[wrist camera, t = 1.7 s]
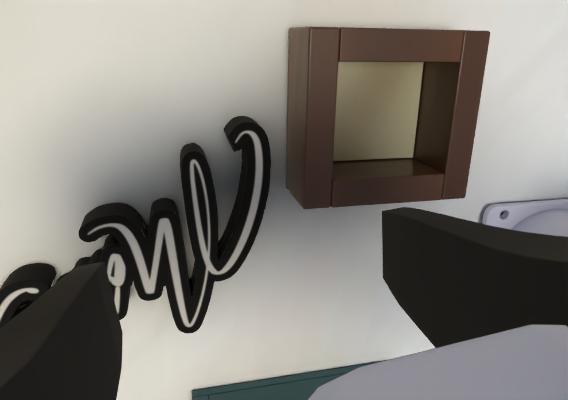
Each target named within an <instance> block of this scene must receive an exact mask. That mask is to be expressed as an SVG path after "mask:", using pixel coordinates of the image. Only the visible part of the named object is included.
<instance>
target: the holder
mask: <svg viewBox="0 0 568 400" xmlns="http://www.w3.org/2000/svg"><path fill="white" fill-rule="evenodd" d="M376 363H378V362H376ZM370 364H374V363H369V364H363V365H356V366H350V367H343V368H337V369H330V370H324V371H317V372H311V373H304V374H298V375H291V376H285V377H278V378H272V379H265V380H259V381H252V382H246V383H240V384H233V385H227V386H220V387H214V388H207V389H201V390H194V391H192V400H308V399H309V398H310V397H311V395H312V394H313V393H314V392H315V391H316V390H317V388H318V387H320V386H322V385H324V384H326V383H328V382H330V381H332V380H334V379H336V378H338V377H340V376H343V375H345V374H347V373H349V372H351V371H353V370H355V369H357V368H359V367H362V366H366V365H370Z"/></svg>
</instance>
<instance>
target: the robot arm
mask: <svg viewBox="0 0 568 400" xmlns="http://www.w3.org/2000/svg"><path fill="white" fill-rule="evenodd" d="M502 211H504V212H503V214H502V215H501V216H500V214H501V212H502ZM382 242H383V278H384V280H385V282H386V284H387V285H388V287H389V289H390V290H391V292H392V294H393V295H394V297H395V298H396V300H397V302H398V303H399V305H400V306H401V307H402V308H403V310H404V311H405V312H406V313H407V315H408V316H409V317H410V318H411V319H412V320H413V322H414V323H415V324H416V325H417V326H418V328H419V329H420V330H421V331H422V332H423V333H424V335H425V336H426V337H427V338H428V339H429V340H430V342H431V343H432V344H433V345H434V346H435V347H436V348H435V349H431V350H427V351H422V352H418V353H414V354H410V355H406V356H402V357H398V358H394V359H390V360H386V361H382V362H378V363H374V364H370V365H366V366H362V367H359V368H357V369H355V370H353V371H351V372H349V373H347V374H345V375H343V376H340V377H338V378H336V379H334V380H332V381H330V382H328V383H326V384H324V385H322V386H320V387H318V388H317V390H316V391H315V392H314V393H313V394H312V395H311V397H310V398H309V399H308V400H568V199H558V200H545V201H531V202H518V203H504V204H493V205H490V206H488V207H487V208H486V210H485V211H484V215H483V220H482V224H481V223H476V222H472V221H468V220H463V219H459V218H455V217H451V216H447V215H443V214H438V213H434V212H430V211H425V210H420V209H415V208H405V207H402V208H397V209H391V210H386V211H382ZM121 365H122V329H121V325H120V321H119V317H118V313H117V309H116V305H115V301H114V297H113V293H112V289H111V286H110V282H109V278H108V274H107V270H106V266H105V262H99V263H94V264H88V265H83V266H78V267H76V268H75V269H73V270H72V271H70V272H69V273H68V274H67V275H65V276H64V277H63V278H62V279H61V280H59V281H58V282H57V283H56V284H55V285H53V286H52V287H51V288H50V289H49V290H48V291H46V292H45V293H44V294H43V295H42V296H40V297H39V298H38V299H37V300H36V301H35V302H33V303H32V304H31V305H30V306H28V307H27V308H26V309H25V310H23V311H22V312H21V313H19V314H18V315H17V316H15V317H14V318H13V319H12V320H10V321H9V322H8V323H6V324H5V325H4V326H3V327H1V328H0V400H116V397H117V391H118V385H119V379H120V373H121Z"/></svg>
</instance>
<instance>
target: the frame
mask: <svg viewBox="0 0 568 400" xmlns="http://www.w3.org/2000/svg"><path fill="white" fill-rule="evenodd" d="M489 38H490V32H489V31H470V30H429V29H387V28H345V27H340V28H338V27H296V28H290V29H289V61H288V112H287V163H286V188H287V189H288V190H289V192H290V193H291V194H292V195H293V196H294V198H295V199H296V200H297V201H298V203H299V204H300V205H301V206H302V208H303V209H314V208H328V207H330V206H331V207H346V206H360V205H374V204H388V203H403V202H417V201H431V200H441V199H457V198H465V195H466V188H467V182H468V175H469V169H470V162H471V155H472V149H473V142H474V136H475V129H476V123H477V116H478V110H479V103H480V97H481V90H482V83H483V77H484V70H485V64H486V57H487V51H488V44H489Z"/></svg>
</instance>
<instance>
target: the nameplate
mask: <svg viewBox="0 0 568 400" xmlns="http://www.w3.org/2000/svg"><path fill="white" fill-rule="evenodd" d="M224 131H225V133H226V136H227V138H228V140H229V143H230V145H231V146H232V148H233V150H234V152H235V151H238V150H240V149H242V166H241V174H240V181H239V187H238V193H237V197H236V201H235V204H234V207H233V210H232V213H231V216H230V219H229V221H228V224H227V227H226V229H225V232H224V234H223V236H222V238H221V240H220V241H219V243H218V215H217V204H216V197H215V191H214V186H213V181H212V176H211V171H210V168H209V165H208V162H207V159H206V157H205V154H204V152H203V150H202V149H201V147H200V146H198V145H197V144H195V143H190V144H186V145H185V146H183V148H182V150H181V154H180V169H181V181H182V189H183V196H184V203H185V210H186V217H187V224H188V230H189V235H190V240H191V245H192V249H193V253H194V257H195V263H194V268H193V273H192V278H191V279H189V275H188V269H187V263H186V256H185V249H184V243H183V236H182V230H181V223H180V218H179V213H178V209H177V206H176V204H175V202H174V201H173V200H171V199H167V198H163V199H158V200H156V201H154V202H153V204H152V207H151V212H150V219H149V224H148V225H146V223H145V222H144V220H143V218H142V217H141V215H140V214H139V213H138V212H137V211H136V210H135V209H134V208H133V207H131V206H129V205H127V204H124V203H110V204H105V205H102V206H98V207H96V208H95V209H93V210H92V211H90V212H89V213H88V214H87V215H86V216H85V218H84V220H83V223H82V225H81V227H80V230H79V237H80V239H81V240H83V241H85V242H92V241H96V240H97V239H98V238H100V237H101V236H104V235H107V234H110V235H109V236H108V237H107V238H106V240H105V244H104V246H103V249H102V250H98V251H96V252H95V253H94V254H93V255H92V257H90V258H87V257H86V258H82V259H80V260H78V261H77V263H76V265H75V267H74V269H75V268H76V267H78V266H83V265H88V264H94V263H99V262H105V266H106V270H107V274H108V278H109V282H110V286H111V289H112V293H113V297H114V301H115V305H116V309H117V313H118V317H119V320H121V319H123V318H124V317H125V316H126V314H127V310H128V302H129V294H130V286H131V285H132V282H133V281H134V285H135V288H136V290H137V293H138V295H139V297H140V298H141V299H143V300H146V301H150V300H155V299H158V298H159V297H160V296H161V295H162V291H163V287H164V286H166V288H167V294H168V298H169V303H170V307H171V311H172V315H173V318H174V321H175V324H176V326H177V328H178V329H179V330H180V331H182V332H184V333H193V332H195V331H197V330H198V329H199V328H200V326H201V324H202V322H203V320H204V317H205V315H206V312H207V309H208V305H209V302H210V298H211V294H212V289H213V284H214V282H215V281H222V280H225V279H228V278H230V277H231V276H233V275H234V274H235V273H236V272H237V271H238V269H239V268H240V267H241V265H242V264H243V262H244V260H245V259H246V257H247V255H248V253H249V251H250V249H251V247H252V245H253V243H254V240H255V238H256V235H257V233H258V230H259V227H260V224H261V221H262V218H263V214H264V209H265V207H266V201H267V197H268V191H269V183H270V169H271V160H270V158H271V157H270V147H269V142H268V138H267V135H266V133H265V131H264V130H263V129H262V127H261V126H259V125H258V124H257V123H256V122H255V121H254V120H253V119H251V118H249V117H246V116H238V117H235V118H233V119H231V120H230V121H229V122H228V124H227V125H226V126H225V128H224ZM55 272H56V271H55V269H54V268H53V267H52V266H50V265H48V264H41V263H35V264H29V265H25V266H23V267H20V268H18V269H17V270H15V271H14V272H13V273H12V274H10V275H9V277H8V278H7V279H6V281H5V282H4V284H3V285H2V287H1V288H0V328H1V327H3V326H4V325H5V324H6V323H8V322H9V321H10V320H12V319H13V318H14V317H15V316H17V315H18V314H19V313H21V312H22V311H23V310H25V309H26V308H27V307H28V306H30V305H31V304H32V303H33V302H35V301H36V300H37V299H38V298H39V297H40V296H42V295H43V294H44V293H45V292H46V291H48V290H49V289H50V288H51V285H52V282H53V280H54V278H55V276H56V273H55ZM67 274H68V273H66V274H64V275H63V276H61V277H60V278H59V279H58V280H57V281H56V283H57V282H58V281H59V280H61V279H62V278H63V277H64V276H65V275H67ZM56 283H55V284H56ZM25 300H26V301H25ZM23 301H24V302H23Z"/></svg>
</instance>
